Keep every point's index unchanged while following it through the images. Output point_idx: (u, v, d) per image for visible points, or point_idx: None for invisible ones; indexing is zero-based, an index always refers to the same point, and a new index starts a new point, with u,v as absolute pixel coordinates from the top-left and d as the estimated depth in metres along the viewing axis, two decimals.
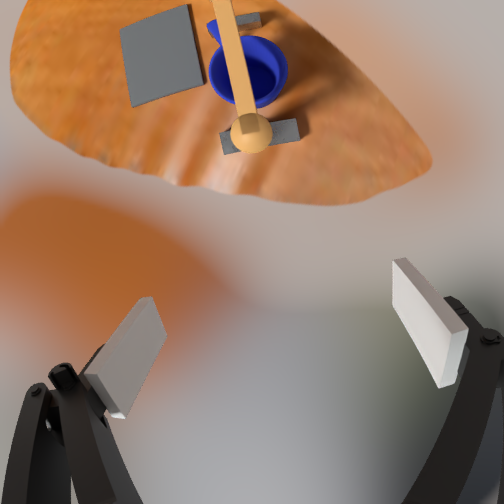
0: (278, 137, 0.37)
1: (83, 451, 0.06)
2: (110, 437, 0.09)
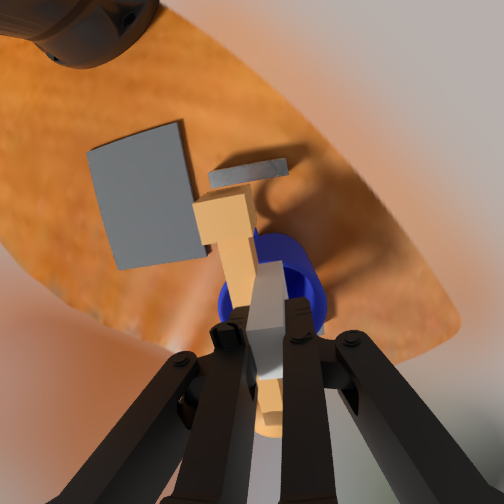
0: None
1: (213, 429, 0.07)
2: (252, 413, 0.10)
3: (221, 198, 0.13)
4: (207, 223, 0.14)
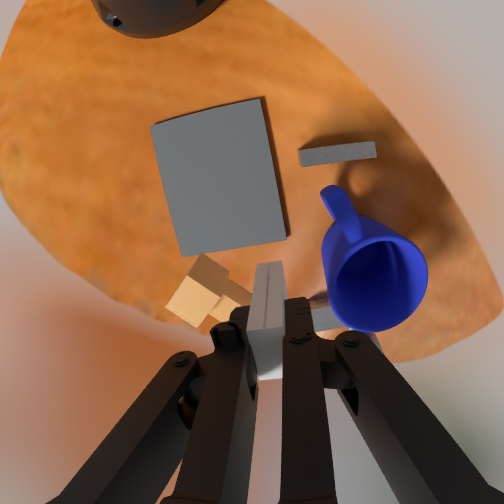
0: None
1: (213, 429, 0.07)
2: (252, 413, 0.10)
3: (177, 289, 0.15)
4: (185, 311, 0.15)
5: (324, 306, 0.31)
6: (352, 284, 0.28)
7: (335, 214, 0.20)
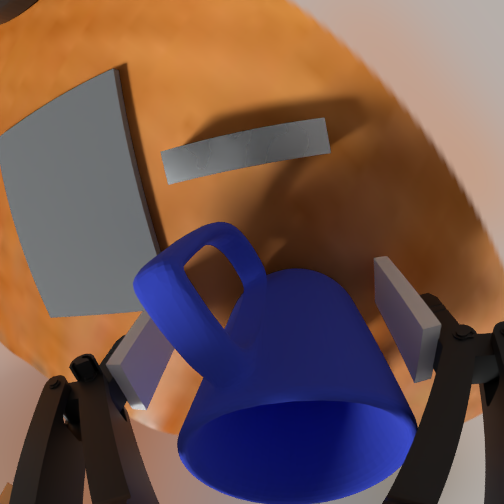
0: None
1: (100, 445, 0.07)
2: (129, 430, 0.09)
3: None
4: None
5: None
6: None
7: (158, 327, 0.07)
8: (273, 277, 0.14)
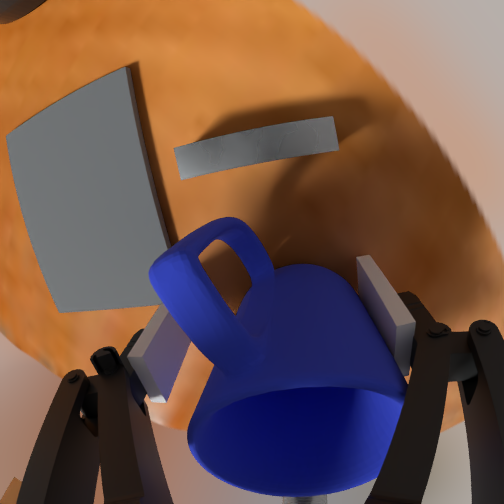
0: None
1: (117, 440, 0.07)
2: (148, 425, 0.10)
3: None
4: None
5: None
6: None
7: (172, 316, 0.08)
8: (280, 272, 0.15)
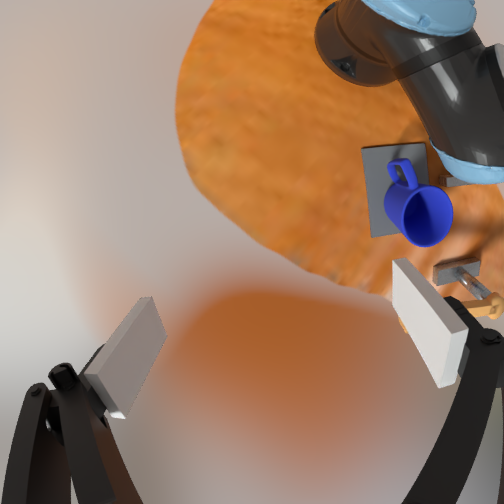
0: None
1: (83, 451, 0.06)
2: (110, 437, 0.09)
3: None
4: None
5: (446, 268, 0.45)
6: (404, 224, 0.41)
7: (404, 172, 0.33)
8: (401, 181, 0.40)
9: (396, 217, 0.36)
